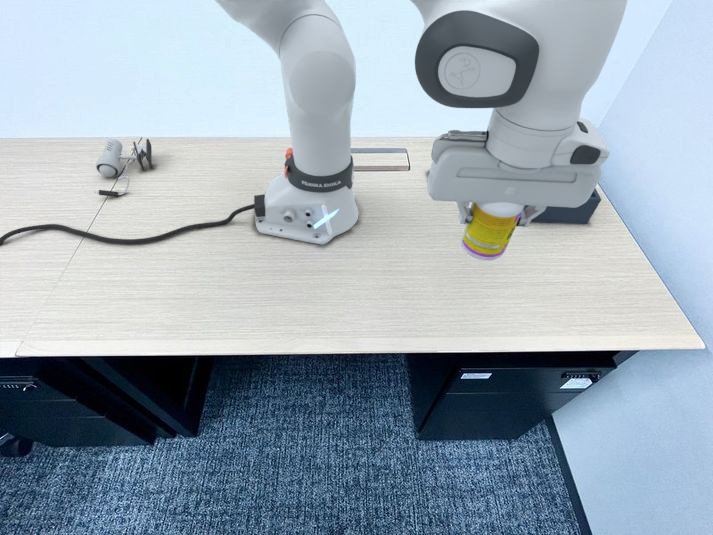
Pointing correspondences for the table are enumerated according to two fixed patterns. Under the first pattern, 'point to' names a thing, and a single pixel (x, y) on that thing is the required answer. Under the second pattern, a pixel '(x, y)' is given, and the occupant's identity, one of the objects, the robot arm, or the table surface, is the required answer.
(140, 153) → the clip-on lamp
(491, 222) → the supplement bottle
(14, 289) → the table surface
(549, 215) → the tub
